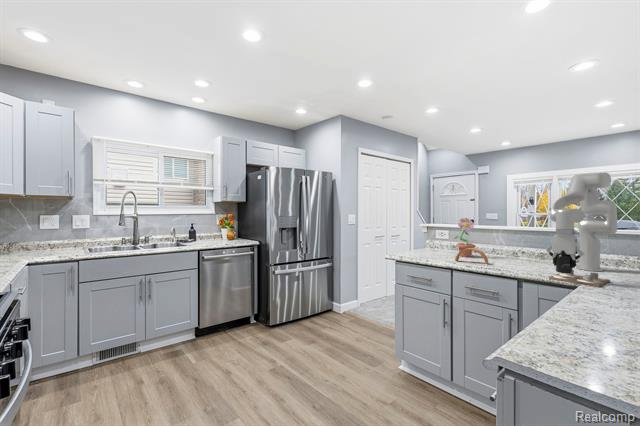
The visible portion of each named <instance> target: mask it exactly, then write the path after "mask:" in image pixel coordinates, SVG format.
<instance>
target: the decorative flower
mask: <svg viewBox="0 0 640 426" xmlns="http://www.w3.org/2000/svg"><path fill="white" fill-rule="evenodd" d="M457 226H458V227H459V228H460V229H461V233H460V235H457V236H455V237H454V239H459V240H460V241H462V242H457V243H456V244H455V247H457V248H458V253H459V252H460V251H462V250H464V249H467V248H475V249H476V245H475V244H474V243H469V238H463V235H464V234H465V235H466V236H469V233H468V232H467V231H471V230H472V229H474V227H475V225H474V222H473V220H470V219H469V218H468V217H465V218H463V217H462V218H460V219H459V222H458V223H457ZM472 254H473V250H467V251H464V252H462V253H461V255H460V256H459V257H463V258H471V257H472V256H473V255H472Z"/></svg>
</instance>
